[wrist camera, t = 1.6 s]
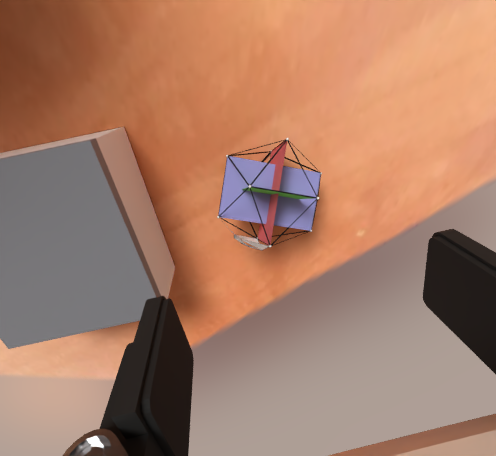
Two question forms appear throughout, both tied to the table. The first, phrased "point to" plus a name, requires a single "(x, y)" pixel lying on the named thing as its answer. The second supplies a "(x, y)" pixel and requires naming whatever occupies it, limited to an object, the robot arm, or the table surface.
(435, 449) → the robot arm
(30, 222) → the grey stand
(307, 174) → the geometric puzzle
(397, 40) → the table surface
